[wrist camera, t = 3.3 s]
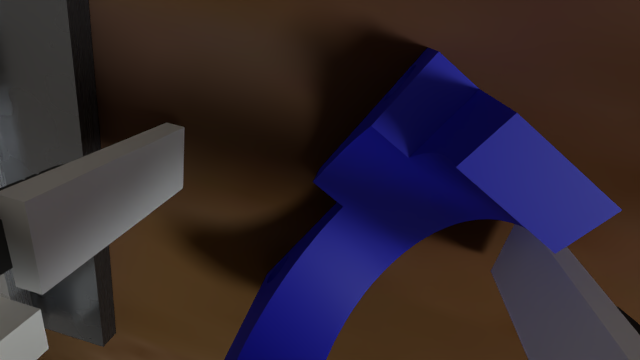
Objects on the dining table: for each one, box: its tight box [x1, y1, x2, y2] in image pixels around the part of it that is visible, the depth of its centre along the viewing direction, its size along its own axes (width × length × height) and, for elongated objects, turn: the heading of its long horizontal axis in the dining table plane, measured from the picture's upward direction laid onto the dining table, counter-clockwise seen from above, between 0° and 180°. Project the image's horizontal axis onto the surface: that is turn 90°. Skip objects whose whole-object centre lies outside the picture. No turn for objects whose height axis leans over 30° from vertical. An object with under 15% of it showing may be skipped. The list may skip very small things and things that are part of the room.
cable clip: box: [224, 48, 622, 360], centre depth 12 cm, size 12×4×6 cm, turn 142°
